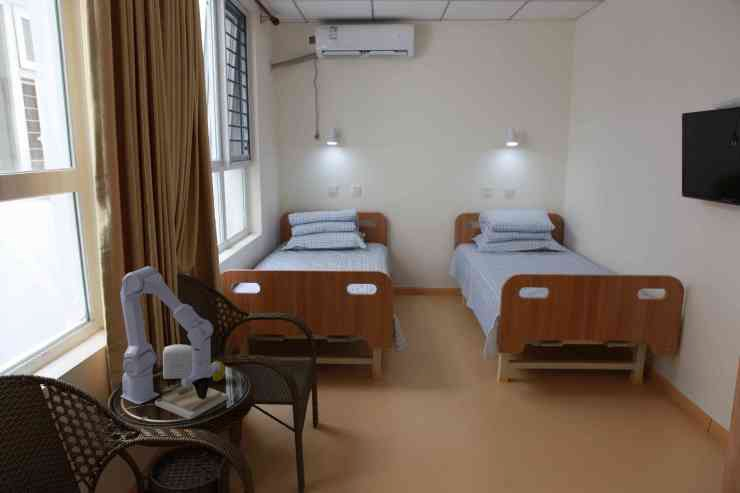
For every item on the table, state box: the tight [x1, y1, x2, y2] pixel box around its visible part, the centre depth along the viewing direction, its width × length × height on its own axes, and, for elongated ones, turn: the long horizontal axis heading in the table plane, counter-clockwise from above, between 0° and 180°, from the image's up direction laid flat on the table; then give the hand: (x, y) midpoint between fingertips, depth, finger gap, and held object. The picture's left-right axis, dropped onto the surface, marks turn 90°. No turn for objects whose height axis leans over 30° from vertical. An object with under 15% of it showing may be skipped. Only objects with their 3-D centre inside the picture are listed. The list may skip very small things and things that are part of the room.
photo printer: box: [162, 343, 192, 380], centre depth 182 cm, size 10×4×12 cm, turn 103°
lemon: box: [211, 360, 226, 383], centre depth 180 cm, size 6×6×8 cm
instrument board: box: [160, 383, 223, 411], centre depth 166 cm, size 14×13×3 cm
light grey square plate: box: [154, 392, 229, 420], centre depth 166 cm, size 16×16×2 cm
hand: (201, 398), depth 164 cm, fingers closed, pressing on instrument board
